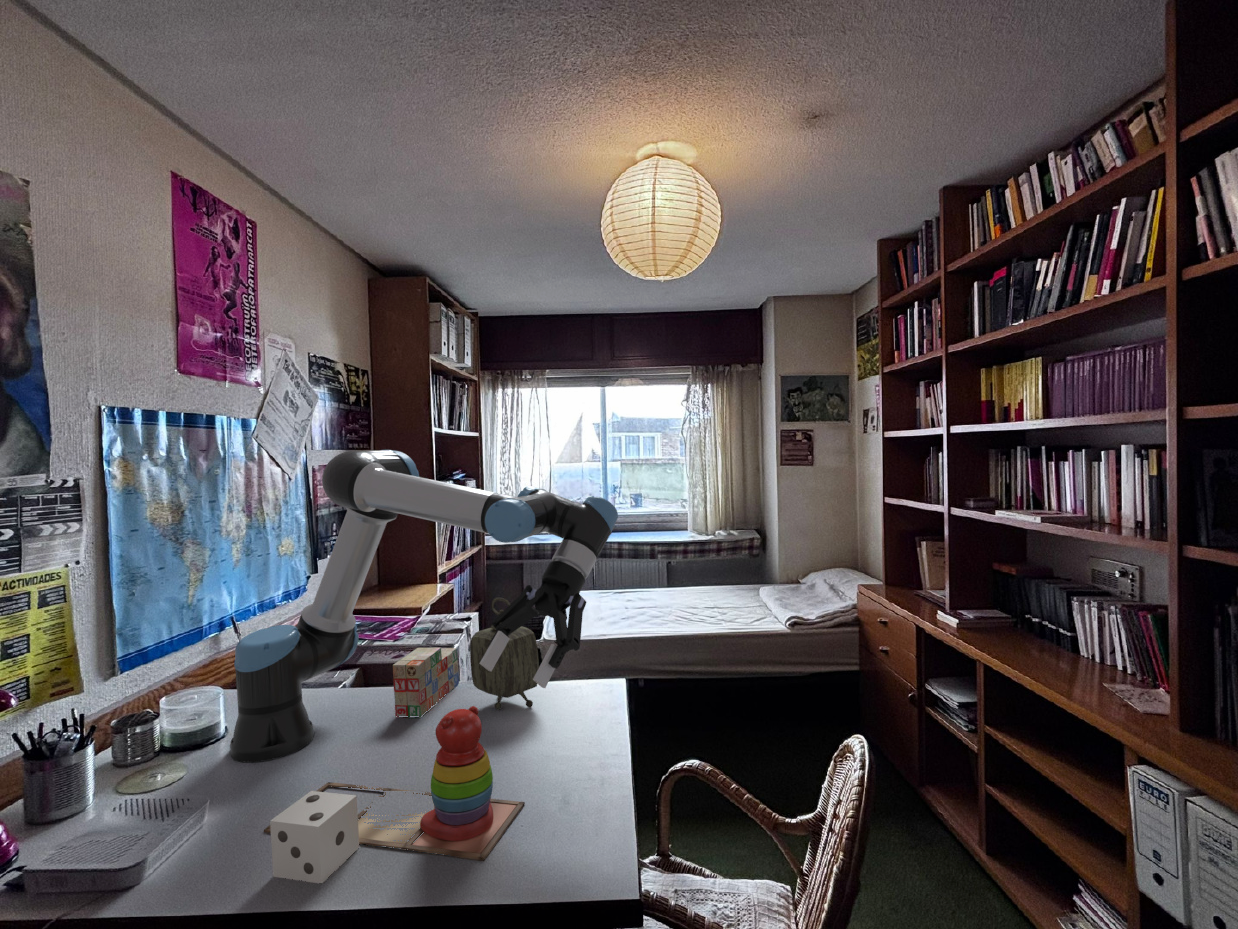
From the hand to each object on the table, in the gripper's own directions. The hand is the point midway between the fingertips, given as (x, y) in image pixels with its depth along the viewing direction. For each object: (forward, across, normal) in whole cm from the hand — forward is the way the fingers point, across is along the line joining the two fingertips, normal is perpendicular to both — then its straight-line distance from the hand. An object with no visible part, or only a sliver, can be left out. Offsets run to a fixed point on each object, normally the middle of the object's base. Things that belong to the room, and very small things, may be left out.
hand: (510, 675), depth 107 cm
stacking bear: (+22, 0, -6) cm, 23 cm away
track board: (+26, +10, -3) cm, 28 cm away
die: (+35, +10, +7) cm, 37 cm away
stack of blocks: (+4, +50, -27) cm, 57 cm away
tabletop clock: (-2, +31, -32) cm, 45 cm away
